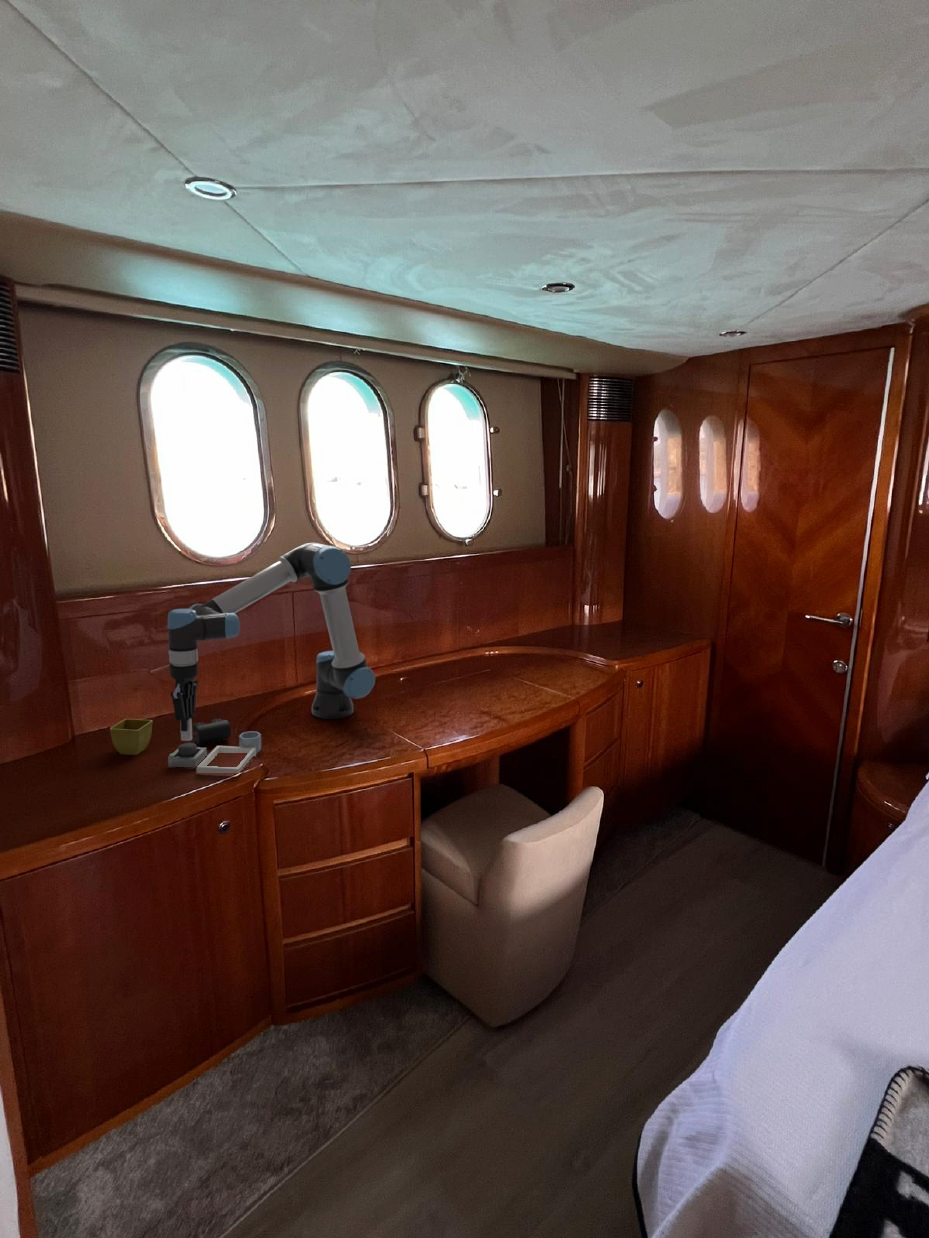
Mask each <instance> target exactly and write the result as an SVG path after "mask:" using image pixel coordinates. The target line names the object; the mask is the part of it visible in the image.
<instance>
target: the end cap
mask: <svg viewBox="0 0 929 1238" xmlns="http://www.w3.org/2000/svg"><path fill="white" fill-rule="evenodd" d="M210 721H211V722H210V723H204V722H203V721H201V722H196V723H192V731H194V732H192V739H194V740H193V743H194V742H195V743H196V744H197V745H198V746H197V747H202V746H205V745H204V744H207V745H209V744H208V743H211V744H213V743H212V742H215V743H217V742H216V741H219V740H223V739H227V740H228V739H230V737H231V733H232V729H231V725H230V721H228V720H227V719H225V720H224V719H221V718H215V719H211V720H210ZM223 741H224V740H223ZM219 742H220V741H219ZM201 745H202V746H201Z"/></svg>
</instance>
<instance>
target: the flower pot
mask: <svg viewBox="0 0 929 1238" xmlns="http://www.w3.org/2000/svg"><path fill="white" fill-rule="evenodd" d="M152 730H153V720H152V719H140V718H139V719H137V718H124V719H123V720H121V721H119V722H117V723H116V724H114V725H113V726H111V727H110V728H109V731H110V736H111V737H110V738H111V740H112V744H113V746H114V748H115V749H116V751H117V752H118V753H119V754H120V755H129V756H137V755H139V754H140V753H142V752H143V751H144V750H146V749H147V747H148V746H149V743H150V742H151V741H150V740H151V737H152Z"/></svg>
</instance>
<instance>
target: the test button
mask: <svg viewBox="0 0 929 1238" xmlns="http://www.w3.org/2000/svg"><path fill="white" fill-rule="evenodd" d="M197 747H198V746H197V745H196V744H195V743H194V742H185V743H182V744H179V745H178V746H177V749H178V754H179V756H180V757H194V756H195V755H196V754H197Z"/></svg>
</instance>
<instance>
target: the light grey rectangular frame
mask: <svg viewBox="0 0 929 1238" xmlns="http://www.w3.org/2000/svg"><path fill="white" fill-rule="evenodd" d="M218 753H247V755H246V756H245V758H244V759H243V760H242V761H241V762H240V764H239V765H238V766H237V767H218V766H207V765H208V764H209V763H210V762H211V761H212V760H213V759H214V758H215V756H217V754H218ZM253 756H255V757H256V756H257V753H256V748H253V747H239V746H232V745H228V746H227V745H216V747H214V749H212V751H211V752H209V753H208V754H207V757H206V758H205V759H204V760H203V761H202V762H201V763H200V764H199V765H198V766H197V768H196V774H197V773H240V771H241V770H242V769H243V767H245V765H246V764H247V763H248V762H249V760H250V759H251V758H252V757H253Z"/></svg>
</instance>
